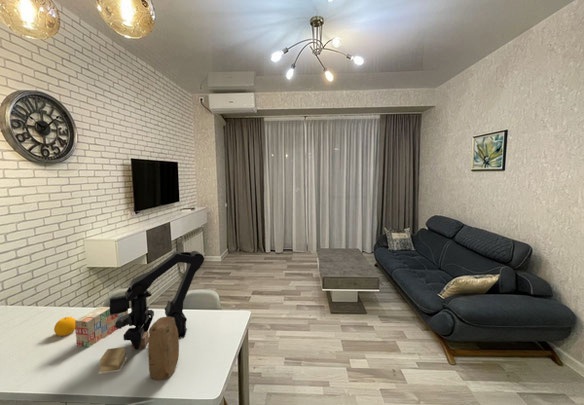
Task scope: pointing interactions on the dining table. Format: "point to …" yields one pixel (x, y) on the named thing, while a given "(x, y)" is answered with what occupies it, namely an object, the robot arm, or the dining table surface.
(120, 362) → the oak base block
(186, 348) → the dining table surface
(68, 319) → the orange
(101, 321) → the stack of blocks
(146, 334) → the walnut cube
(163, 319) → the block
